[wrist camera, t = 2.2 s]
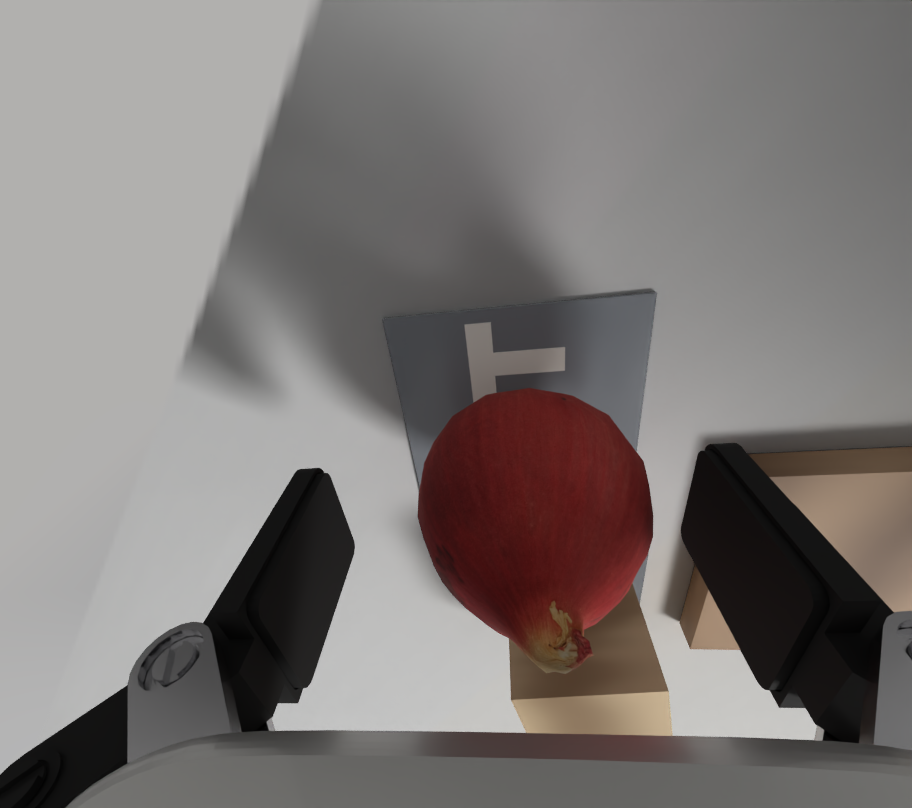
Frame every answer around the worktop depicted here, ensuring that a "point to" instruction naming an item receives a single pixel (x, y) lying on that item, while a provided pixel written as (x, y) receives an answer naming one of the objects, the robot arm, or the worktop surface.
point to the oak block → (598, 683)
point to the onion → (536, 518)
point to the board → (833, 525)
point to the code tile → (522, 359)
